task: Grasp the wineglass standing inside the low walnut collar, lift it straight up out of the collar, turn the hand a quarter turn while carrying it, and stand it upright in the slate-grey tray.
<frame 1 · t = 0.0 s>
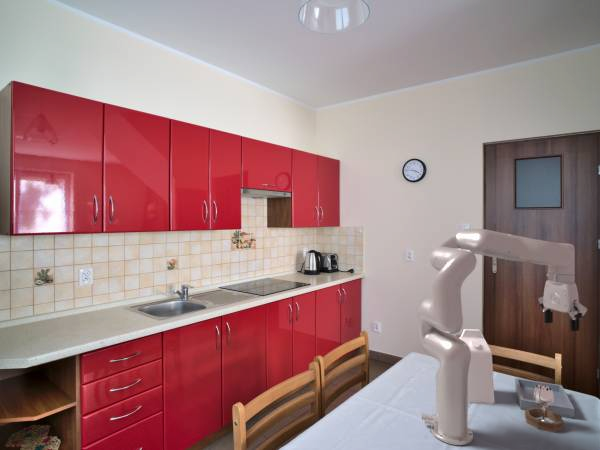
hand: (561, 326, 129), 31 cm above the table, tool pointing down, fingers open, 9 cm apart
collar: (543, 422, 124), on the table
milk: (472, 396, 143), on the table
wineglass: (543, 423, 124), resting in collar
tray: (542, 401, 138), on the table
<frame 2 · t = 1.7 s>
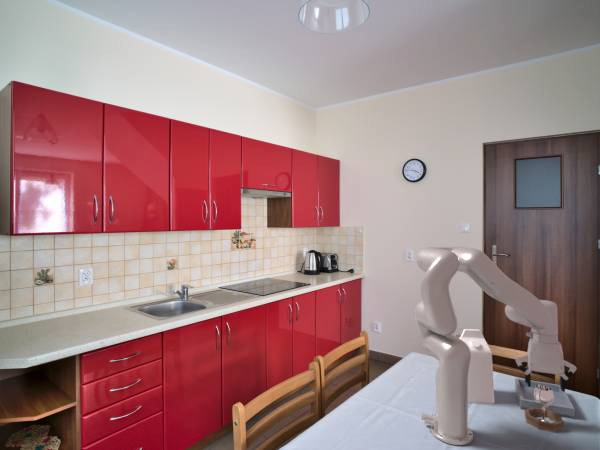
hand: (545, 387, 124), 12 cm above the table, tool pointing down, fingers open, 9 cm apart
nothing on the table moved.
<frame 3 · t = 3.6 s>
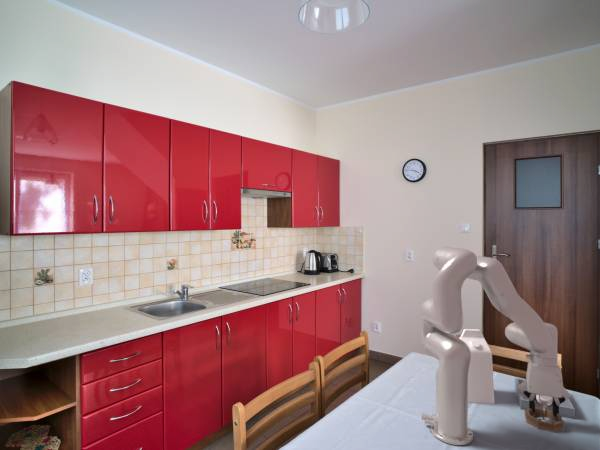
hand: (543, 412, 124), 4 cm above the table, tool pointing down, fingers closed on wineglass, 5 cm apart
wineglass: (543, 423, 124), resting in collar, touching gripper
everything else where it was.
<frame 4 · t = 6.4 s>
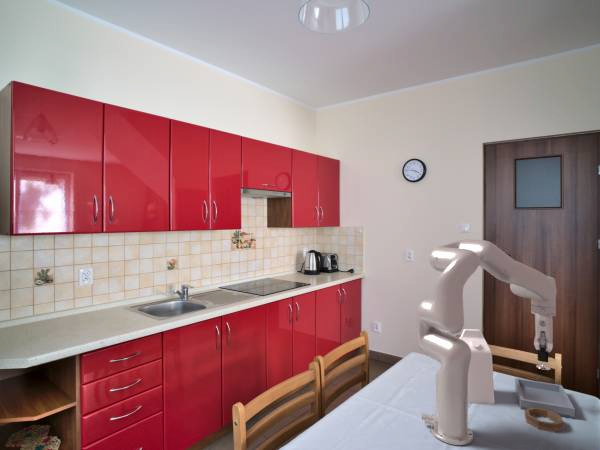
hand: (543, 358, 135), 18 cm above the table, tool pointing down, fingers closed on wineglass, 5 cm apart
wineglass: (543, 368, 135), point 14 cm above the table, touching gripper
everything else where it was.
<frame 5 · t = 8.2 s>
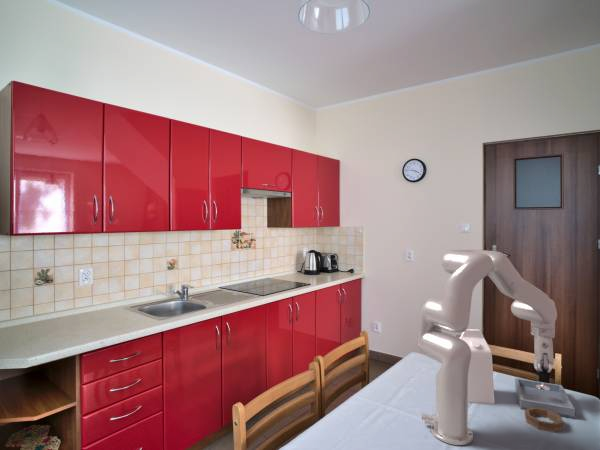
hand: (542, 378, 137), 9 cm above the table, tool pointing down, fingers closed on wineglass, 5 cm apart
wineglass: (542, 388, 138), point 5 cm above the table, touching gripper
everything else where it was.
when the fingers open (6 cm above the table, at t = 9.7 s): wineglass drops 1 cm, resting on tray.
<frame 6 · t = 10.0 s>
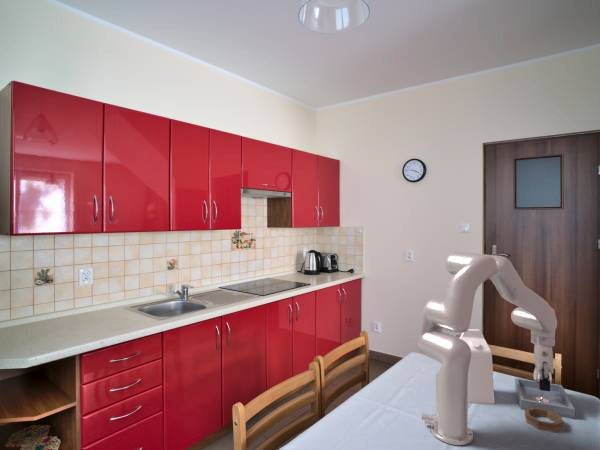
hand: (542, 385, 137), 7 cm above the table, tool pointing down, fingers open, 8 cm apart
wineglass: (542, 400, 138), point 1 cm above the table, touching tray
everything else where it was.
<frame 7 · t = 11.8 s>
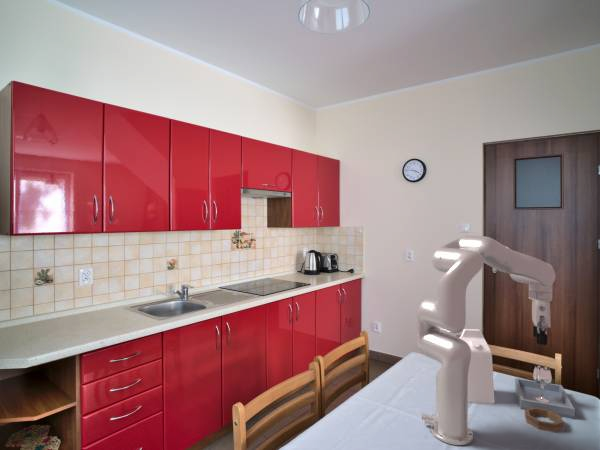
hand: (539, 340, 138), 23 cm above the table, tool pointing down, fingers open, 9 cm apart
nothing on the table moved.
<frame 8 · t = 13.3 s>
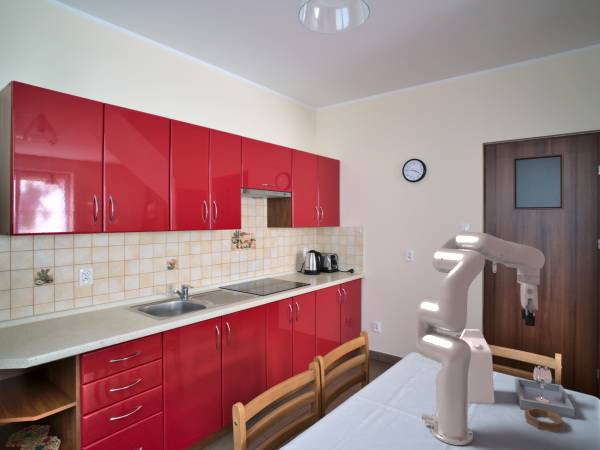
hand: (528, 322, 144), 28 cm above the table, tool pointing down, fingers open, 9 cm apart
nothing on the table moved.
at the end: wineglass inside the target area on the tray (1.0 cm from its centre), point 0.8 cm above the tray's base; wineglass tilted 0°; the gripper is holding nothing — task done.
